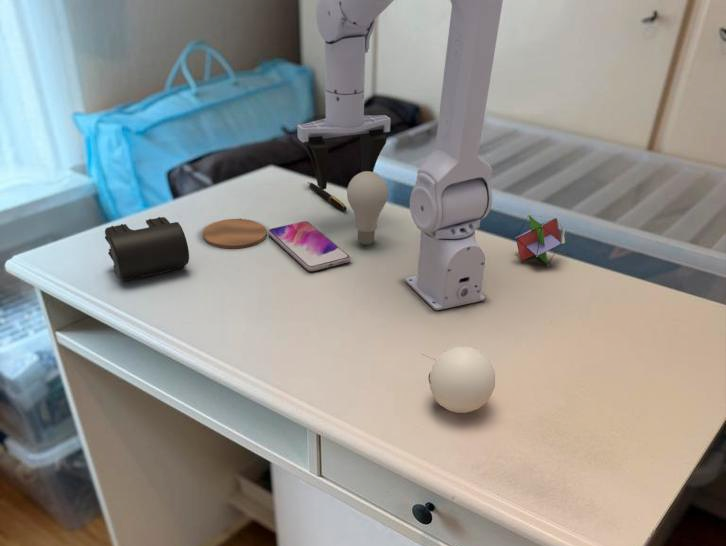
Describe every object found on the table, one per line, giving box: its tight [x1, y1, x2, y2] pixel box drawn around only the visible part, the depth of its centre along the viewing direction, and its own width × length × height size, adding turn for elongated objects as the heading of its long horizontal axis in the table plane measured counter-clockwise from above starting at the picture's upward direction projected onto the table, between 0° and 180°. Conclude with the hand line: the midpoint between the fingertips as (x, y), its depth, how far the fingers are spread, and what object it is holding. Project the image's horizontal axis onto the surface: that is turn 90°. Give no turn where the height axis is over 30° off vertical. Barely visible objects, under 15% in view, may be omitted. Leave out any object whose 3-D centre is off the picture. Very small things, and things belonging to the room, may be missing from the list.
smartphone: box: [267, 220, 351, 272], centre depth 111 cm, size 7×1×15 cm
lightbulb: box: [346, 171, 389, 246], centre depth 109 cm, size 6×6×11 cm
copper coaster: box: [202, 218, 267, 249], centre depth 114 cm, size 10×10×1 cm
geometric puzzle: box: [515, 214, 566, 266], centre depth 108 cm, size 7×7×8 cm
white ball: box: [421, 345, 496, 414], centre depth 80 cm, size 10×7×7 cm
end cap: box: [104, 216, 190, 282], centre depth 102 cm, size 10×7×7 cm
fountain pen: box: [307, 181, 348, 212], centre depth 125 cm, size 14×1×2 cm, turn 31°
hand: (344, 183), depth 114 cm, fingers open, 7 cm apart
